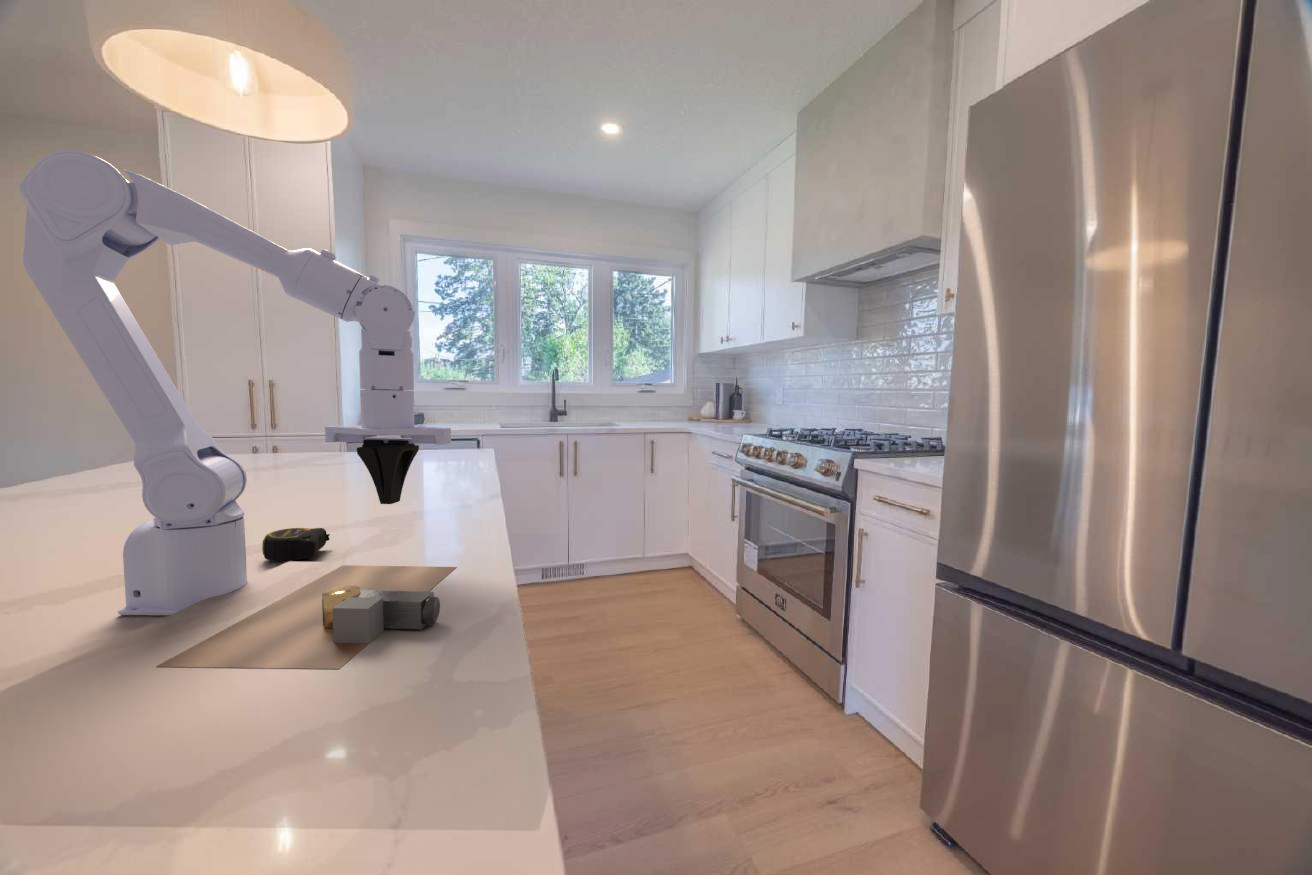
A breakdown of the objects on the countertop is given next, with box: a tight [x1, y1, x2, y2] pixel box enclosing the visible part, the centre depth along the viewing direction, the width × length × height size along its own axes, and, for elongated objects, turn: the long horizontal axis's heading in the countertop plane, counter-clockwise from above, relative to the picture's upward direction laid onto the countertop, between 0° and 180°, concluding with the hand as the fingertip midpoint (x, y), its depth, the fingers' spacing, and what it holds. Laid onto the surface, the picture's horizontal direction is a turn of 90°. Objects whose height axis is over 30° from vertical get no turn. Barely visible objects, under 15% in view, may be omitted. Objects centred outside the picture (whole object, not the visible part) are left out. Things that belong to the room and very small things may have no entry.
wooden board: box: [155, 564, 458, 670], centre depth 52 cm, size 14×24×2 cm, turn 0°
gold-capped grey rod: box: [322, 585, 441, 630], centre depth 47 cm, size 10×3×3 cm, turn 88°
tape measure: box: [261, 527, 331, 563], centre depth 71 cm, size 7×7×4 cm
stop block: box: [332, 597, 385, 644], centre depth 45 cm, size 3×2×3 cm
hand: (390, 502), depth 63 cm, fingers closed
